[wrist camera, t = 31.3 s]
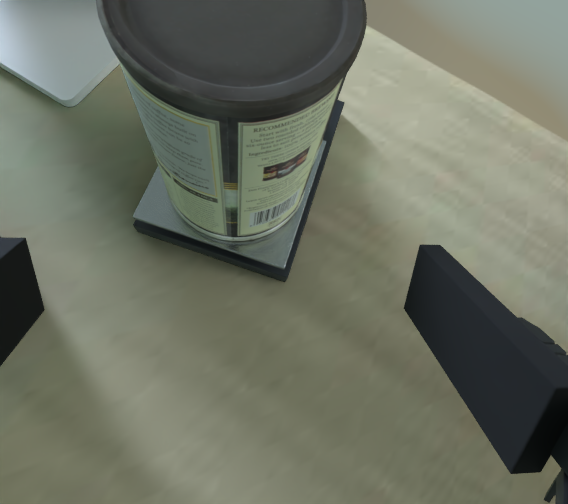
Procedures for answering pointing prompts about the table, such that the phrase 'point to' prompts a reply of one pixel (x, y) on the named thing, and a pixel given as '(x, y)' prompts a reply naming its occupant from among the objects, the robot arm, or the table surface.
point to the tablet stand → (55, 46)
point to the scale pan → (263, 249)
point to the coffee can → (235, 99)
